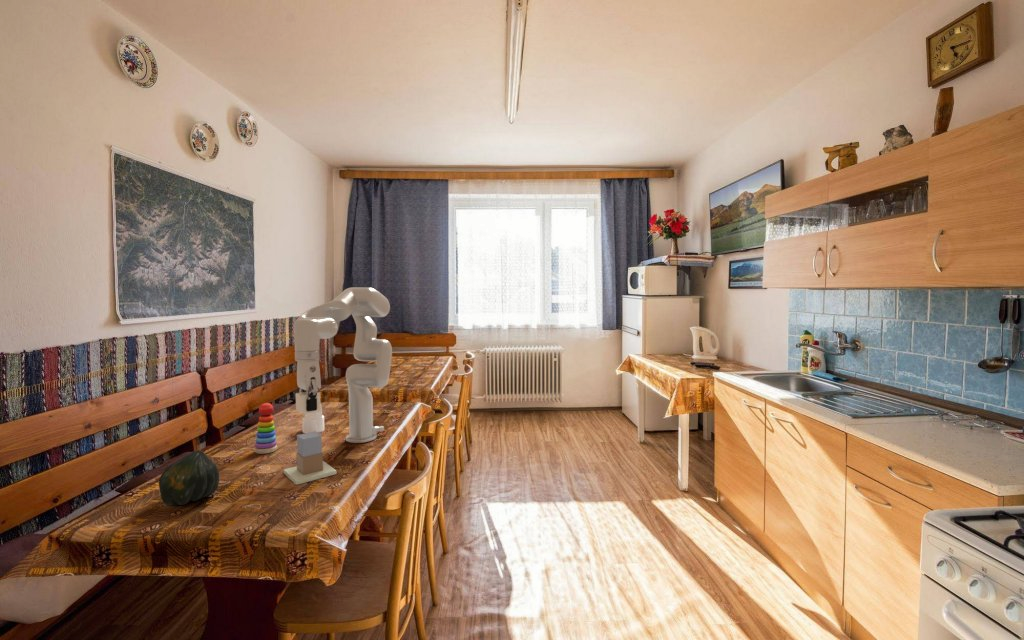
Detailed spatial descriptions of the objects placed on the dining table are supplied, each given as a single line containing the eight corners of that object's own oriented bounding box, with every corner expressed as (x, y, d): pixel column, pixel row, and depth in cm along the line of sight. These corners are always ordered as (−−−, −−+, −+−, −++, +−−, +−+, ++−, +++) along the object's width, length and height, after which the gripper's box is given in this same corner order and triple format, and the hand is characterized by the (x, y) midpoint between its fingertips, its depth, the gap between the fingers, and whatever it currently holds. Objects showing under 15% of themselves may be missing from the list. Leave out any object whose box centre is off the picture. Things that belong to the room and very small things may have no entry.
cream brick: (314, 408, 157) (314, 390, 157) (320, 411, 153) (320, 393, 152) (295, 410, 153) (295, 393, 153) (301, 414, 149) (301, 396, 148)
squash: (135, 491, 127) (170, 452, 127) (175, 472, 142) (206, 437, 142) (173, 525, 127) (208, 486, 127) (209, 503, 142) (240, 467, 142)
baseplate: (322, 463, 163) (322, 443, 163) (336, 474, 154) (336, 453, 154) (283, 472, 155) (283, 452, 154) (296, 484, 145) (295, 462, 145)
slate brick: (315, 448, 158) (315, 431, 158) (321, 452, 154) (321, 435, 153) (297, 452, 154) (296, 435, 154) (303, 457, 150) (302, 439, 149)
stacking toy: (267, 455, 171) (266, 406, 170) (249, 453, 173) (247, 405, 172) (282, 448, 179) (281, 401, 178) (264, 446, 181) (263, 400, 180)
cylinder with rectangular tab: (328, 429, 204) (328, 403, 203) (310, 434, 196) (309, 407, 196) (316, 426, 209) (315, 400, 208) (298, 431, 201) (297, 404, 200)
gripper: (328, 357, 148) (329, 411, 149) (310, 352, 161) (310, 402, 162) (304, 359, 143) (305, 415, 144) (287, 354, 156) (288, 405, 157)
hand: (308, 408), depth 153 cm, fingers closed on cream brick, 6 cm apart
